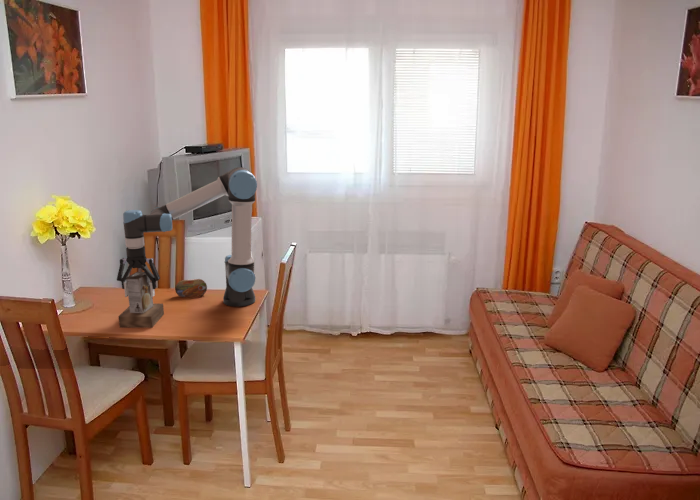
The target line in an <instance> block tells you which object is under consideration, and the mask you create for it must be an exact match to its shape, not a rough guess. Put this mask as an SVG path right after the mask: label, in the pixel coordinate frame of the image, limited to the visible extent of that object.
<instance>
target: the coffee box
mask: <svg viewBox="0 0 700 500" xmlns="http://www.w3.org/2000/svg"><path fill="white" fill-rule="evenodd" d="M126 281H127V290H128V296H127V298H128V305H129V306H128V307H130V313H144V312H146V311H147V310H149V309H150V308H152V307H153V304H154V300H153V298H154V297H151V290H150V282H151V280H150V279H149V277H148V276H147V275H146V273H145V272H144V271H136V272H134V273H132V274H129V275H128V277H127V278H126Z"/></svg>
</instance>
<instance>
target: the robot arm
mask: <svg viewBox="0 0 700 500" xmlns="http://www.w3.org/2000/svg"><path fill="white" fill-rule="evenodd" d="M257 189H258V180H257V178H256V176H255V175H254V174H253V173H252V172H251V171H250V170H249V169H247V168H245V167H243V166H242V167H241V166H237V167H235V168H233V169H230V170H229V171H226V172H225V173H223V174H221V175H220V176H218V177H217V179H216V180H214V181H212V182H210V183H208V184H205V185H204V186H202V187H199V188H198V189H197V188H196V190H192V191H191V192H189V193H187V194H184V195H183V196H181V197H179V198H177V199H174V200H172V201H169V202H168V203H165V204H164V205H162V206H157V207H154V208H153V209H152V210H151V211H150V214H143V212H142V210H140V209H129V210H125V211H124V212H123V214H122V217H123V218H122V219H123V230H124V239H125V240H124V241H125V247H126V248H125V250H126V258H124V257H121V258H120V259H119V269H118V272H117V275H116V276H117V277H116V281H117V282H121V289H123V290H124V297H125V298H128V290H127V281H126V278H127V277H128V276H130V273H131V271H132V270H133V269H141V270H142V272H145V273H146V275H147V276H148V277H149V279H150V280H151V282H150V290H151V297H152V298H154V297H155V295H156V292H155V290H156V289H157V282H159V280H161V277H160V274H159V272H158V269H157V266H156V265H155V261H154V260H155V258H154V257H151V258H147V256H146V247H145V245H146V244H145V235H144V233H161V232H162V233H165V232H170V231H172V230H173V220H175V219H177V218H180V217H183V215H186V214H188V213H190V212H192V211H194V210H196V209H199V208H201V207H203V206H205V205H207V204H209V203H212V202H213V201H215V200H217V199H220V198H222V197H223V196H226V197H228V198H227V199H228V202H229V203H230V204H231V254H229V255H226V256H225V257H224V265H225V266H224V267H225V270H224V271H225V284H226V285H225V286H226V287H225V290H224V294H223V298H222V300H223V304H224V305H226V306H229V307H245V306H250V305H253V304H254V303H255V302H256V294H255V291H254V289H253V287H254V285H255V283H256V274H255V260H254V258H252V217H253V215H252V214H253V213H252V212H253V211H252V210H253V209H252V208H253V204H254V203H255V202H256V192H257ZM146 263H147V264H149V267H148V265H147V264H146ZM126 264H128V266H127V269H126V271H125V272H124V269H125V266H126ZM123 273H124V274H123Z"/></svg>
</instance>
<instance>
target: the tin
mask: <svg viewBox="0 0 700 500" xmlns="http://www.w3.org/2000/svg"><path fill="white" fill-rule="evenodd" d="M174 289H175V290H174V291H175V294H177V296H179V297H180V298H192V297H194V298H195V297H201V296H204V295H205V294H206V292H207V290H208V286H207V283H206V281H205V280H203V279H200V278H196V279H195V278H193V279H183V280H179V281H178V282H177V283H176V285H175V288H174Z"/></svg>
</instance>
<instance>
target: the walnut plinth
mask: <svg viewBox="0 0 700 500" xmlns="http://www.w3.org/2000/svg"><path fill="white" fill-rule="evenodd" d="M164 311H165V310H164V303H153V307H152V308H150V309H149V310H147V311H146V312H144V313H130V307H129V306H127V308H125V310H124V311H122V313H120V314H119V315H118V317H117V318H118V326H119V328H139V329H140V328H141V329H142V328H146V329H147V328H150V329H152V328H153V327H155V325H156V324H157V323H158V322H159V320H161V318H162V317H163V316H164V315H165V312H164Z"/></svg>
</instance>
